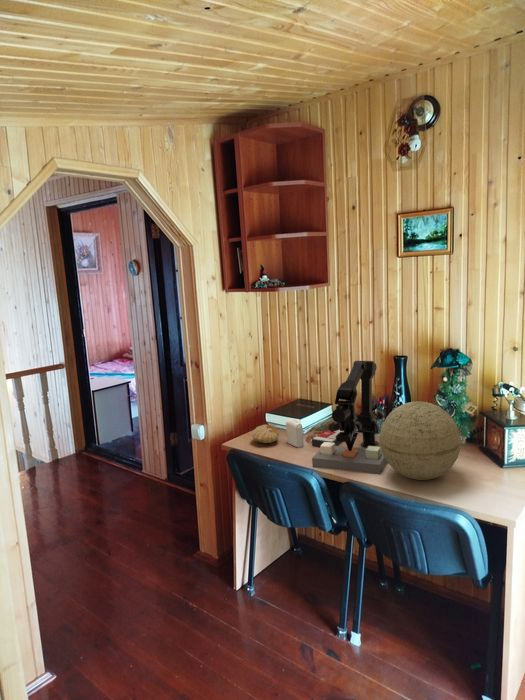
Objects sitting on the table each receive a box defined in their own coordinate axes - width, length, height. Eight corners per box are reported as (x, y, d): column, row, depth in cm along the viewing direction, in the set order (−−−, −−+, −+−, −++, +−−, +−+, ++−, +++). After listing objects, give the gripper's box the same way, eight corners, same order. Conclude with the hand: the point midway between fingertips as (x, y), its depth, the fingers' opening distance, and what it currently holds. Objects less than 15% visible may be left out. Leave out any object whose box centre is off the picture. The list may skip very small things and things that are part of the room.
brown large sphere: (454, 499, 182) (452, 417, 177) (371, 487, 197) (368, 411, 192) (466, 466, 208) (465, 394, 203) (392, 458, 223) (389, 390, 218)
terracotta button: (346, 458, 225) (346, 447, 224) (358, 459, 222) (357, 448, 221) (343, 463, 220) (342, 452, 219) (354, 464, 218) (354, 453, 217)
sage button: (369, 456, 220) (368, 445, 219) (381, 458, 218) (380, 446, 217) (366, 461, 215) (365, 450, 214) (378, 462, 213) (377, 451, 212)
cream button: (324, 452, 229) (324, 441, 228) (335, 453, 226) (334, 442, 226) (321, 456, 224) (320, 446, 223) (331, 458, 222) (331, 446, 221)
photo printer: (286, 442, 252) (284, 418, 250) (293, 440, 254) (291, 416, 252) (297, 448, 243) (295, 423, 241) (305, 446, 245) (303, 421, 243)
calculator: (347, 432, 250) (331, 441, 238) (347, 441, 250) (332, 450, 238) (327, 429, 256) (311, 437, 244) (327, 437, 257) (311, 446, 245)
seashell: (268, 432, 271) (293, 437, 263) (244, 443, 253) (269, 449, 245) (268, 417, 270) (293, 422, 262) (244, 428, 252) (269, 433, 244)
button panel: (325, 453, 235) (324, 444, 234) (388, 459, 222) (388, 450, 221) (312, 466, 221) (311, 457, 220) (380, 474, 208) (379, 464, 207)
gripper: (336, 408, 229) (338, 441, 232) (322, 421, 213) (325, 456, 216) (361, 409, 225) (363, 443, 227) (348, 422, 208) (350, 459, 211)
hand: (350, 450), depth 220 cm, fingers closed, pressing on terracotta button
